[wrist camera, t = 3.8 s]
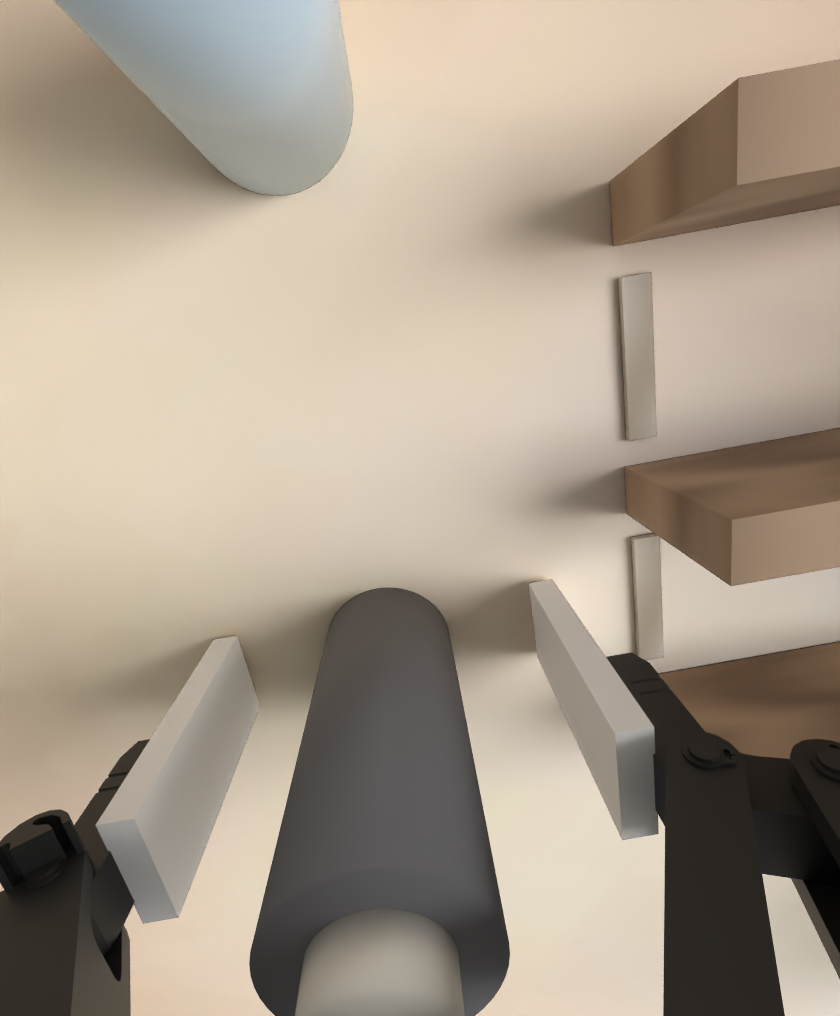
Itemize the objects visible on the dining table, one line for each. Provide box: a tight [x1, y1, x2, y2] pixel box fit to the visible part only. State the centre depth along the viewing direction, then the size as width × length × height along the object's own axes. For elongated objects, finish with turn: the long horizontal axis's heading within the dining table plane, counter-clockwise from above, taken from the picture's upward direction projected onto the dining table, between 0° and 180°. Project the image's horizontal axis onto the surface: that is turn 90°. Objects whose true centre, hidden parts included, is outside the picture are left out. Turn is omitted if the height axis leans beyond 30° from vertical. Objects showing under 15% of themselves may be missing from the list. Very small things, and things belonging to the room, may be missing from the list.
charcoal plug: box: [250, 588, 510, 1016], centre depth 12 cm, size 4×4×10 cm
